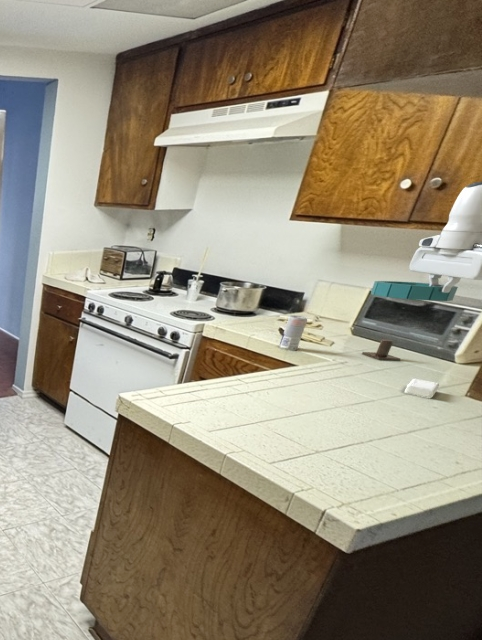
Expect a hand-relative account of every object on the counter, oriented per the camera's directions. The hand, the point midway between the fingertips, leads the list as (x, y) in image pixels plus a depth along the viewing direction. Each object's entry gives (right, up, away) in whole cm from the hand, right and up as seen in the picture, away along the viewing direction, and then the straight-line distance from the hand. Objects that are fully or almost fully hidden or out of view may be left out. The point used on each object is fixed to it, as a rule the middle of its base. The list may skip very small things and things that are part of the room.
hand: (438, 291), depth 138 cm
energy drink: (-14, -14, +37) cm, 42 cm away
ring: (+1, 0, +8) cm, 8 cm away
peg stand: (+12, -18, +28) cm, 35 cm away
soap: (-10, -30, -4) cm, 32 cm away
